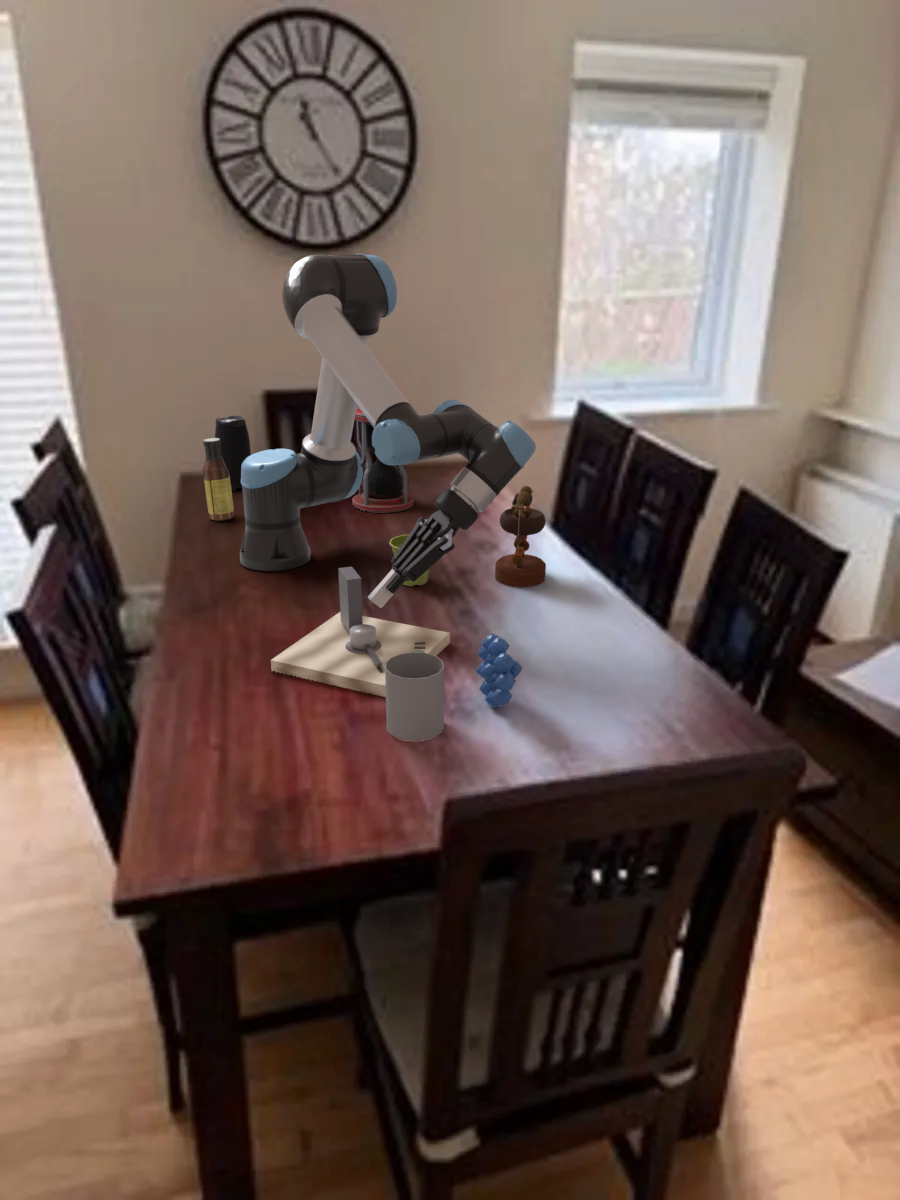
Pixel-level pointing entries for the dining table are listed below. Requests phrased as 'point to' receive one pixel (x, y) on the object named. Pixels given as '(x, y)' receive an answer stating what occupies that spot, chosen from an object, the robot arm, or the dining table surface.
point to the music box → (521, 543)
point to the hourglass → (379, 477)
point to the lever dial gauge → (355, 613)
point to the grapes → (497, 671)
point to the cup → (414, 696)
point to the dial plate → (355, 653)
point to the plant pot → (395, 545)
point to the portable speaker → (233, 446)
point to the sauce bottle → (217, 482)
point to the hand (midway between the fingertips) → (374, 602)
